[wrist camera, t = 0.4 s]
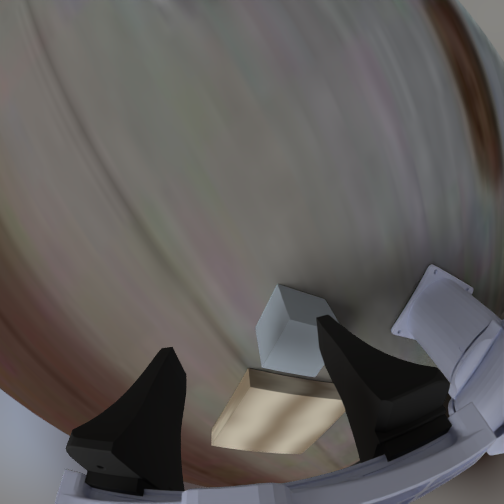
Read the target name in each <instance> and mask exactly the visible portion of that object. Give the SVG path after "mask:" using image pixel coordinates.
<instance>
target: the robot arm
mask: <svg viewBox="0 0 504 504" xmlns="http://www.w3.org/2000/svg"><path fill="white" fill-rule="evenodd" d="M472 293H473V287H471V286H469V285H468V284H466V283H464V282H463V281H461V280H459V279H458V278H456V277H454V276H453V275H451V274H449V273H447V272H446V271H444V270H442V269H440V268H439V267H437V266H435V265H433V264H431V265H429V267H428V268H427V270H426V272H425V274H424V276H423V277H422V279H421V281H420V283H419V285H418V286H417V288H416V290H415V292H414V293H413V295H412V297H411V298H410V300H409V302H408V303H407V305H406V307H405V308H404V310H403V311H402V313H401V315H400V316H399V318H398V319H397V321H396V322H395V324H394V325H393V327H392V329H391V332H392V334H394V335H398V336H402V337H406V338H410V339H414V340H417V342H418V343H419V344H420V345H421V346H422V348H423V349H424V350H425V351H426V353H427V354H428V355H429V356H430V358H431V359H432V360H433V361H434V363H435V364H436V365H437V366H438V368H439V369H440V370H441V371H442V372H441V371H440V370H439V369H438V368H436V367H430V366H424V365H419V364H415V363H411V362H407V361H404V360H401V359H398V358H396V357H393V356H390V355H388V354H386V353H384V352H381V351H379V350H377V349H375V348H374V347H372V346H370V345H368V344H367V343H365V342H364V341H362V340H361V339H359V338H358V337H356V336H355V335H353V334H352V333H351V332H349V331H348V330H347V329H345V328H344V327H343V326H342V325H340V324H339V323H338V322H337V321H336V320H335V319H333V318H332V317H331V316H330V315H324V316H320V317H316V321H317V331H318V341H319V349H320V352H321V355H322V358H323V361H324V364H325V366H326V369H327V371H328V373H329V375H330V377H331V379H332V381H333V383H334V385H335V387H336V389H337V391H338V393H339V396H340V398H341V400H342V402H343V405H344V408H345V411H346V414H347V417H348V420H349V423H350V426H351V429H352V432H353V436H354V439H355V443H356V446H357V450H358V454H359V458H360V461H361V463H360V464H357V465H354V466H351V467H348V468H344V469H341V470H338V471H334V472H331V473H327V474H323V475H320V476H316V477H311V478H307V479H303V480H298V481H293V482H288V483H282V484H279V483H261V484H251V485H242V486H230V487H214V488H195V489H188V490H186V491H184V484H183V476H182V465H181V425H182V418H183V411H184V404H185V397H186V373H185V371H184V369H183V367H182V365H181V363H180V361H179V359H178V357H177V355H176V353H175V351H174V349H173V347H168V348H162V349H161V350H160V351H159V352H158V353H157V355H156V356H155V357H154V359H153V360H152V361H151V363H150V364H149V365H148V367H147V368H146V369H145V371H144V372H143V373H142V374H141V376H140V377H139V378H138V379H137V380H136V382H135V383H134V384H133V385H132V386H131V387H130V389H129V390H128V391H127V392H126V393H125V394H124V395H123V396H122V397H121V398H120V399H118V400H117V401H116V402H115V403H114V404H113V405H111V406H110V407H109V408H108V409H106V410H105V411H104V412H103V413H101V414H100V415H98V416H97V417H95V418H94V419H92V420H90V421H89V422H87V423H85V424H83V425H81V426H79V427H77V428H75V429H73V430H72V433H71V435H70V438H69V441H68V443H67V446H66V451H67V453H68V454H69V456H70V457H72V458H73V459H74V460H75V461H76V462H77V463H79V464H80V465H81V466H82V467H84V468H85V469H86V470H87V471H88V472H87V475H85V474H83V473H80V472H76V471H72V470H67V469H65V470H64V473H63V477H62V480H61V483H60V486H59V490H58V493H57V497H56V501H55V504H409V503H411V502H413V501H415V500H417V499H418V498H420V497H422V496H424V495H426V494H428V493H429V492H431V491H433V490H434V489H436V488H438V487H439V486H441V485H443V484H444V483H446V482H448V481H449V480H451V479H452V478H454V477H455V476H457V475H459V474H460V473H461V472H463V471H464V470H466V469H468V468H469V467H470V466H472V465H473V464H475V463H476V462H477V460H479V459H480V457H481V456H482V455H483V454H484V453H485V452H487V453H488V454H489V455H496V454H501V453H504V319H503V320H501V319H500V318H499V317H498V316H497V315H495V314H494V313H493V312H492V311H491V310H489V309H488V308H487V307H486V306H485V305H483V304H482V303H481V302H480V301H478V300H477V299H476V298H475V297H473V296H472ZM443 374H444V375H445V376H444V375H443ZM446 378H447V379H448V380H447V379H446ZM449 382H450V383H451V384H450V383H449ZM448 393H449V394H450V396H451V397H452V398H451V400H450V402H449V405H448V410H449V415H450V417H449V418H447V417H446V415H445V413H446V409H445V407H444V406H443V403H444V401H445V399H446V396H447V394H448Z"/></svg>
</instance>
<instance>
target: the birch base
mask: <svg viewBox="0 0 504 504" xmlns="http://www.w3.org/2000/svg"><path fill="white" fill-rule="evenodd" d="M344 412H345V408H344V405H343V402H342V400H341V398H340V396H339V393H338V391H337V389H336V387H335V385H334V383H327V382H320V381H313V380H307V379H301V378H295V377H289V376H284V375H279V374H273V373H268V372H264V371H259V370H254V369H250V368H248V370H247V371H246V373H245V375H244V376H243V378H242V380H241V382H240V383H239V385H238V387H237V388H236V390H235V392H234V394H233V395H232V397H231V399H230V400H229V402H228V404H227V405H226V407H225V409H224V410H223V412H222V413H221V415H220V417H219V418H218V420H217V422H216V423H215V425H214V426H213V428H212V446H218V447H224V448H231V449H239V450H247V451H257V452H268V453H285V454H302V453H303V452H304V451H305V450H306V449H307V448H308V447H309V446H311V445H312V444H313V443H314V442H315V441H316V440H317V439H318V438H319V437H320V436H321V435H322V434H323V433H324V432H325V431H326V430H327V429H328V428H329V427H330V426H331V425H332V424H333V423H334V422H335V421H336V420H337V419H338V418H339V417H340V416H341V415H342V414H343V413H344Z"/></svg>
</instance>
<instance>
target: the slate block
mask: <svg viewBox="0 0 504 504" xmlns="http://www.w3.org/2000/svg"><path fill="white" fill-rule="evenodd" d="M324 315H330V316H331V317H332V318H333V319H335V320H336V321H337V322H338V320H337V319H336V317H335V315H334V314H333V312H332V310H331V308H330V307H329V305H328V303H327V302H326V300H325V299H323V298H320V297H317V296H314V295H310V294H307V293H304V292H301V291H298V290H295V289H292V288H289V287H286V286H283V285H280V284H277V285H276V287H275V289H274V291H273V293H272V295H271V297H270V299H269V301H268V303H267V305H266V307H265V309H264V311H263V313H262V315H261V317H260V319H259V321H258V323H257V325H256V327H255V329H256V335H257V341H258V347H259V353H260V359H261V365H262V368H267V369H271V370H276V371H281V372H287V373H292V374H298V375H304V376H310V377H316V375H317V374H318V372H319V371H320V370H321V368H322V367H323V366H324V361H323V358H322V355H321V352H320V349H319V341H318V331H317V321H316V317H320V316H324ZM338 323H339V322H338Z"/></svg>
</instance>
